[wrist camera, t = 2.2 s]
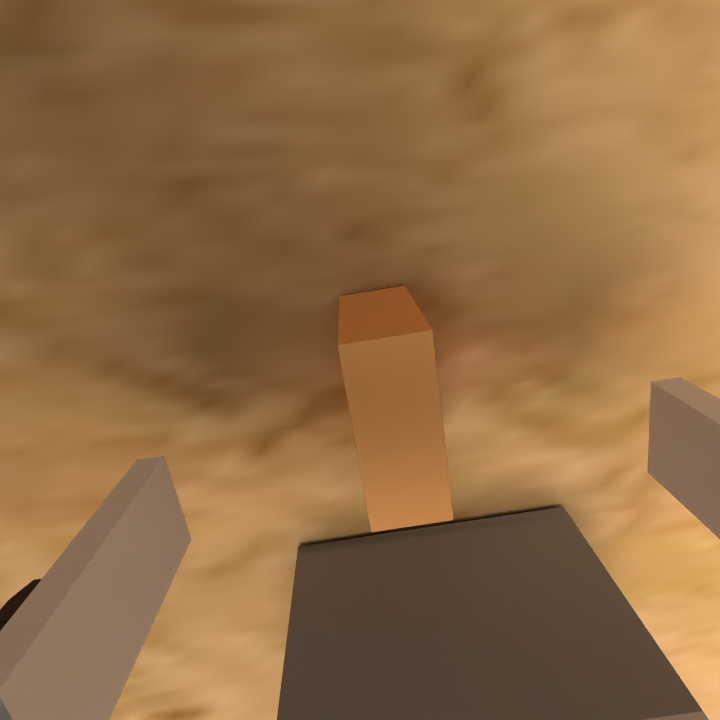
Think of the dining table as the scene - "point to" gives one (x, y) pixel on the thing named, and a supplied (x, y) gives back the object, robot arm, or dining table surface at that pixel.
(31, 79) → the dining table surface
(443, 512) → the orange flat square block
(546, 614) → the box with rectangular hole
